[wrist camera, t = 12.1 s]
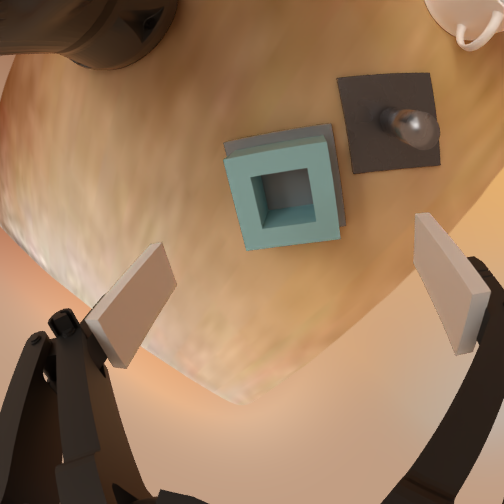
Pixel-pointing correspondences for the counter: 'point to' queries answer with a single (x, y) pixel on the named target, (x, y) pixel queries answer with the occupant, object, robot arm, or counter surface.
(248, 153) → the teal square frame
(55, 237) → the counter surface
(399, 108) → the stand
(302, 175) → the coaster
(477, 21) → the mug
